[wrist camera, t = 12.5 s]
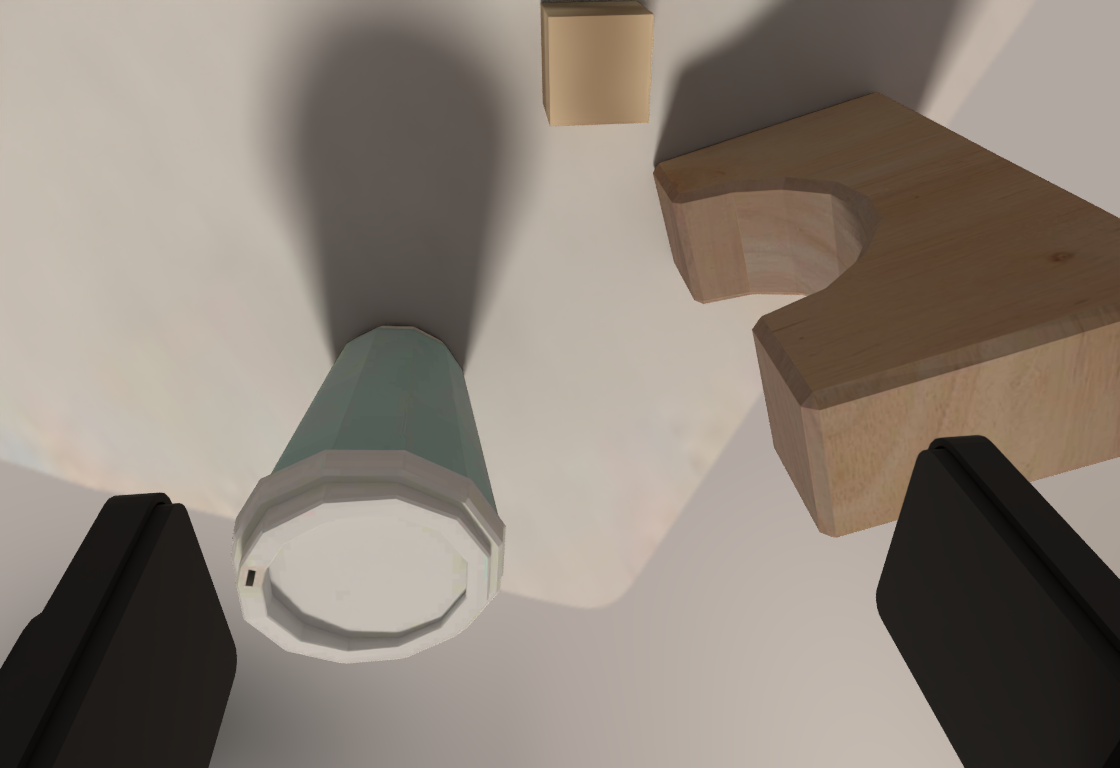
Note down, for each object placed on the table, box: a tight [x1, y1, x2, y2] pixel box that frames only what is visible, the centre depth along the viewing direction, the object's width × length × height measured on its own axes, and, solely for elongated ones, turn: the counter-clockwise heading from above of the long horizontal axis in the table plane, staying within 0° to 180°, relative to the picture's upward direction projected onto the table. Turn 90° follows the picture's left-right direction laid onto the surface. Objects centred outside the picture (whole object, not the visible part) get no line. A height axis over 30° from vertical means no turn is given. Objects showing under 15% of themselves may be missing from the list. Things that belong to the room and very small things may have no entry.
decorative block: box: [653, 92, 1120, 537], centre depth 29 cm, size 11×6×20 cm, turn 106°
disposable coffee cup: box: [231, 326, 506, 664], centre depth 35 cm, size 11×11×15 cm
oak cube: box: [541, 0, 654, 126], centre depth 32 cm, size 4×4×4 cm
